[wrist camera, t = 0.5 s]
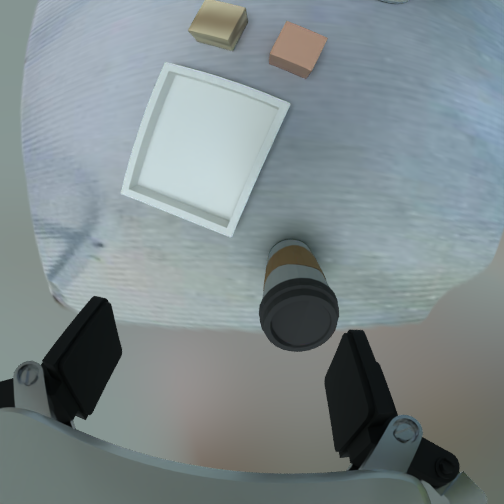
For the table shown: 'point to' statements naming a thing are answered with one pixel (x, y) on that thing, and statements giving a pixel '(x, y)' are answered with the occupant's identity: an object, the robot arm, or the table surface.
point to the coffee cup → (296, 299)
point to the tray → (202, 146)
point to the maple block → (219, 24)
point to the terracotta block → (297, 49)
